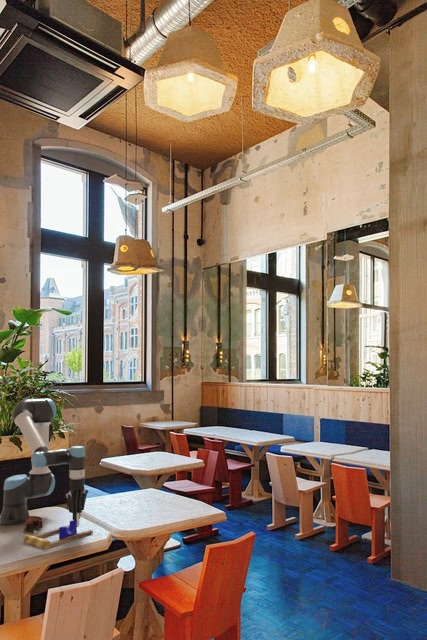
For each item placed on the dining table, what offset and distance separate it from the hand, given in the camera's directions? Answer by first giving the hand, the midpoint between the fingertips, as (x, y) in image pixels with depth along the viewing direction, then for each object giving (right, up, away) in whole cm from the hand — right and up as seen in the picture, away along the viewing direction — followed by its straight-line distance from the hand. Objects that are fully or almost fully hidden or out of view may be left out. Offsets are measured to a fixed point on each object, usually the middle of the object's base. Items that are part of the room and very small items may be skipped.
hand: (76, 526), depth 254 cm
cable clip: (-3, -2, -7) cm, 8 cm away
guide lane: (-6, -2, -8) cm, 10 cm away
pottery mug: (-22, -4, +3) cm, 23 cm away
